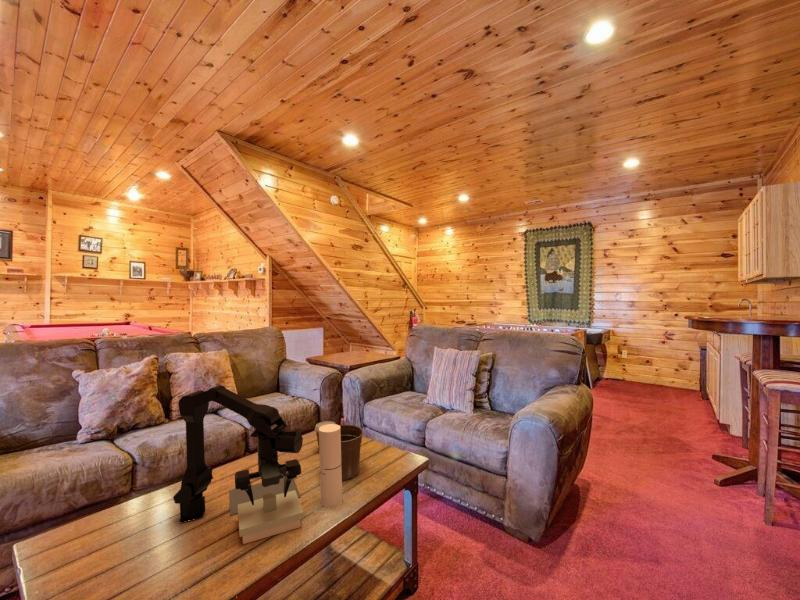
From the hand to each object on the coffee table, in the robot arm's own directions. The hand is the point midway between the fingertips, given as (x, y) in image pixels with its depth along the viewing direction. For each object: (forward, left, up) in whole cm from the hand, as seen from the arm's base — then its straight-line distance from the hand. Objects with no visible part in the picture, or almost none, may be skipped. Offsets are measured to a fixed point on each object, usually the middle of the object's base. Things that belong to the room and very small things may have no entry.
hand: (269, 500), depth 112 cm
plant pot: (+29, +19, -8) cm, 35 cm away
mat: (0, +18, -7) cm, 19 cm away
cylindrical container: (+20, +3, -7) cm, 22 cm away
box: (0, 0, -7) cm, 7 cm away
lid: (0, 0, -4) cm, 4 cm away
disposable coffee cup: (+28, +41, -7) cm, 50 cm away
